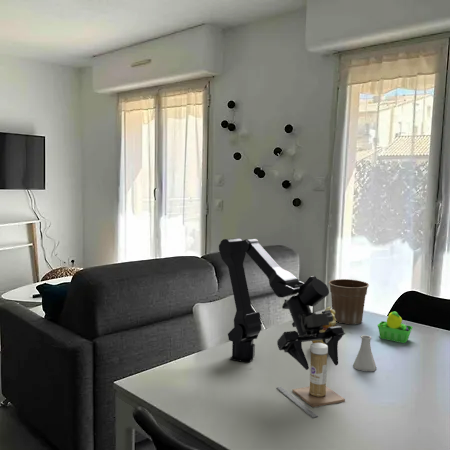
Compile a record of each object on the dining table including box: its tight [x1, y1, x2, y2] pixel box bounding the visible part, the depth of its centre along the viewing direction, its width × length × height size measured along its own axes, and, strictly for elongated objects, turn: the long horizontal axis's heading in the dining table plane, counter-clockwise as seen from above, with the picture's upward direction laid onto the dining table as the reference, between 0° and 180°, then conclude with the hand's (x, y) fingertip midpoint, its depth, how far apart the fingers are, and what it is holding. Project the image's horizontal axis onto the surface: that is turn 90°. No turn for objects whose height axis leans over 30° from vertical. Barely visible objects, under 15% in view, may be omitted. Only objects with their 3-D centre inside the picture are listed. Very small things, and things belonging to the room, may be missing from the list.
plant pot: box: [328, 278, 370, 325], centre depth 202 cm, size 16×16×16 cm
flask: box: [352, 334, 377, 372], centre depth 150 cm, size 7×7×10 cm
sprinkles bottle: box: [309, 343, 328, 397], centre depth 129 cm, size 5×5×13 cm
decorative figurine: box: [311, 306, 337, 344], centre depth 165 cm, size 10×8×15 cm
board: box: [292, 385, 346, 408], centre depth 129 cm, size 10×10×1 cm
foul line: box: [276, 386, 319, 419], centre depth 126 cm, size 18×2×1 cm, turn 23°
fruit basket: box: [377, 311, 413, 344], centre depth 179 cm, size 11×9×11 cm
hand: (322, 366), depth 127 cm, fingers open, 9 cm apart
